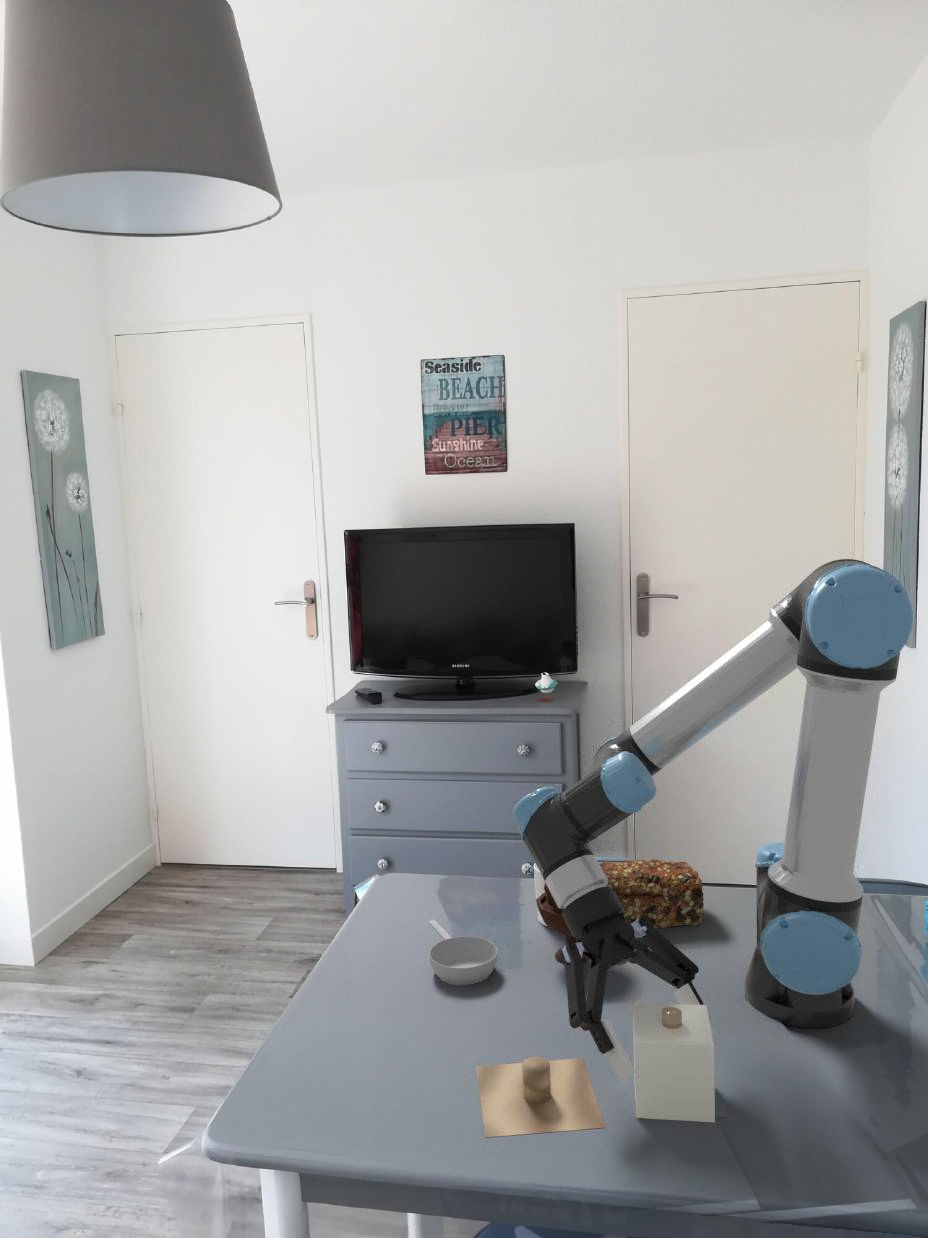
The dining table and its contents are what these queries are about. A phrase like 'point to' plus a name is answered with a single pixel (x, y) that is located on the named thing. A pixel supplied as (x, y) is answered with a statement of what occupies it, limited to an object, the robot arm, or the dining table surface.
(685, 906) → the bread
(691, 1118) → the knobbed white box
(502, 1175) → the dining table surface
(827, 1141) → the dining table surface
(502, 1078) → the board
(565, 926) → the ice cream bowl
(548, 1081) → the cork
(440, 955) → the saucepan
